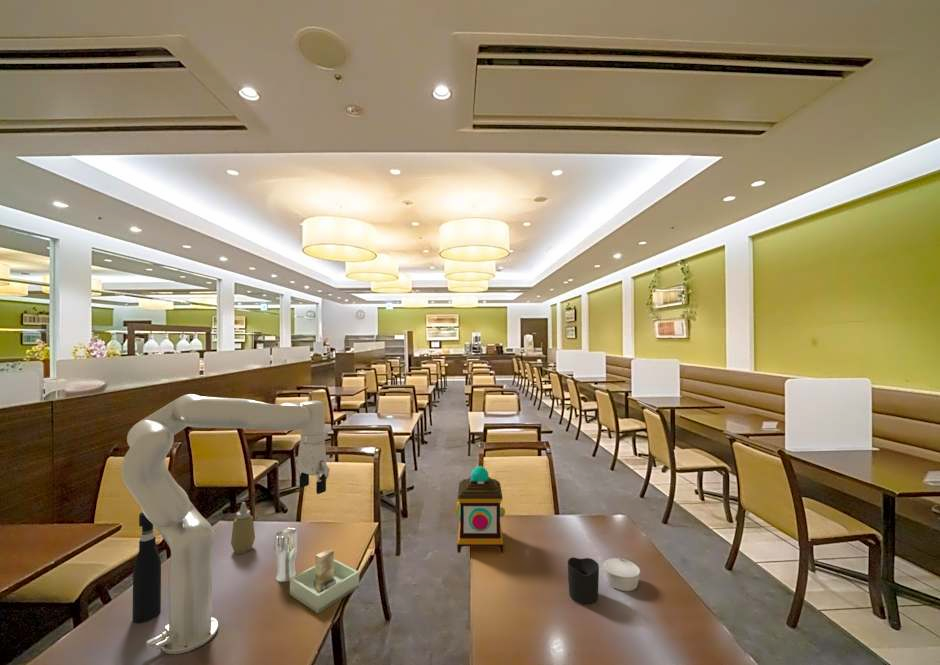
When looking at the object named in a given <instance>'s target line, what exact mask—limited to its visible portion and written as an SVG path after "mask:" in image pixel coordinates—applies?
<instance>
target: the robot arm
mask: <svg viewBox="0 0 940 665" xmlns="http://www.w3.org/2000/svg"><path fill="white" fill-rule="evenodd" d="M325 407H326V406H325V402H323V401H322V400H308V401H304V402H284V403H280V404H275V403H268V402H267V403H266V402H263V401H259V400H253V399H249V398H248V399H246V398H231V397H218V396H202V395H198V394H194V393H189V394H183V395H182V396H180V397H178V398H176V399H174V400H173V401H171V402H169V403H168V404H166V405H164V406H163V407H161V408H160V409H158V410H156V411H155V412H152V413H151V414H149V415H148V416H146V417H144V418H143V419H141V420H140V421H137V422H136V423H135V424H134V425H133V426H132V427H131V428H130V429H129V431H128V433H127V436H126V441H127V445H128V447H129V449H128V450H127V451H126V453H125V455H124V457H123V459H122V460H123V461H122V464H121V468H120V469H121V470H120V474H121V478H122V481H123V484H124V485H125V487H126V489H127V490H128V491H129V493H130V494H131V495H132V497H133V498H134V500H135V501H136V503H137V504H138V505H139V506H140V509H141V513H142V512H143V513H144V515H145V516H146V518H147V519H148V520H149V521H150V522H151V523H152V524H153V528H155V530H156V531H157V532H158V533H159V535H160V536H162V539H164V541H165V543H166V544H167V546H168V547H169V550H170V564H169V570H168V571H169V573H168V575H169V576H168V587H169V588H168V600H169V601H168V624H167V625H165V626H164V631H163V632H162V631H161V633H160V634H159V635H157V636H155V637H154V636H153V637H152V638H150V639H148V640H145V647H146V649H147V650H149V649H151V648H154V647H155V650H156V651H157V650H160V649H161V650H162V652H163V653H166V654H168V655H169V654H170V655H178V654H184V653H188V652H191V651H193V650H197V648H200V647H201V646H203V645H205V644H207V643H208V642H209V641H210V640H211V639H212V638H213V637H214V636H215V635H216V633H217V632H218V629H219V622H218V620H217V619H216V618H214V617H213V616H212V614H213V612H212V607H213V606H212V605H213V604H212V601H213V600H212V599H213V598H212V596H213V594H212V593H213V590H212V589H213V588H212V587H213V586H212V585H213V582H212V580H213V577H212V576H213V570H212V569H213V567H212V566H213V551H214V544H215V531H214V529H213V527H212V525H211V523H210V521H208V520H207V519H206V518H205V517H203V515H202V514H201V513H200V512H199V511H198V509H197V508H196V507H195V505H194V504H193V503H192V501H190V498H189V495H188V493H187V492H186V491H185V490H184V489H183V488H182V486H180V485H179V484H178V482H177V481H176V480H175V479H174V477H173V476H172V474H171V472H170V470H169V469H168V468H167V466H166V459H167V458H166V457H167V455H169V453H170V451H171V450H172V447H173V445H174V442H175V440H174V439H175V438H174V436H175V435H176V434H178V433H180V432H181V431H182V430H184V429H186V428H187V427H190V428H201V429H202V428H204V429H205V428H207V429H209V428H210V429H213V428H215V429H217V428H218V429H219V428H220V429H221V428H222V429H247V430H267V431H268V430H270V431H299V430H300V442H299V446H298V452H297V454H298V455H297V460H296V465H297V470H298V475H299V488H305V487H308V486H309V485H310V476H313V477H314V476H315V477H316V480H317V481H316V484H315V485H316V490H315V491H316V494H317V495H320V494H322V493H325V492H326V491H327V480H328V477H329V474H330V471H331V468H330V467H329V466H328V465H327V455H326V453H327V451H326V444H325V442H326V441H325V439H326V438H325V436H326V435H325V433H326V431H325V428H326V426H325V424H326V422H325V418H326V417H325V416H326V413H325V411H326V410H325V409H326V408H325ZM320 475H321V476H320Z"/></svg>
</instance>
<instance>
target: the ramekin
mask: <svg viewBox="0 0 940 665" xmlns="http://www.w3.org/2000/svg"><path fill="white" fill-rule="evenodd" d="M603 569H604V570H603V571H604V573H605V579H606V581H607V583H608V584H609V586H611V587H612V588H614V589H615V588H616V589H615V590H618V591H621V592H632V591H634V590H636V589H637V587H638V585H639V580H640V577H641V569H640V567H639V566H638V565H637V564H635V563H634V562H632V561H630V560H628V559H623V558H618V557H614V558H608V559H607V560H605V561H604V563H603Z"/></svg>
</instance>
